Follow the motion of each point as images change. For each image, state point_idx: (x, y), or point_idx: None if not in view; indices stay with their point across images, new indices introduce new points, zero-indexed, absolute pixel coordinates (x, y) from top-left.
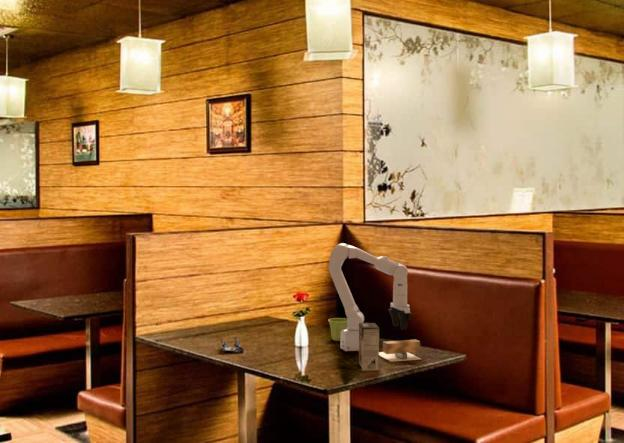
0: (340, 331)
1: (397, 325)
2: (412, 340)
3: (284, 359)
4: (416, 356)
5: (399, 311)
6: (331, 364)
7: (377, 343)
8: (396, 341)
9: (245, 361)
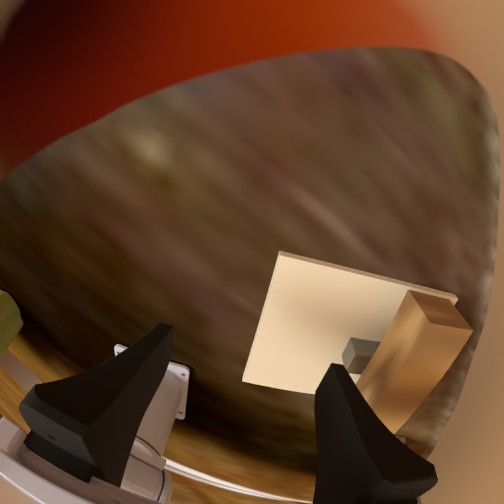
0: (7, 340)
1: (171, 338)
2: (430, 351)
3: (189, 485)
4: (418, 289)
5: (106, 429)
6: (280, 474)
7: (417, 498)
8: (379, 417)
9: (180, 501)
